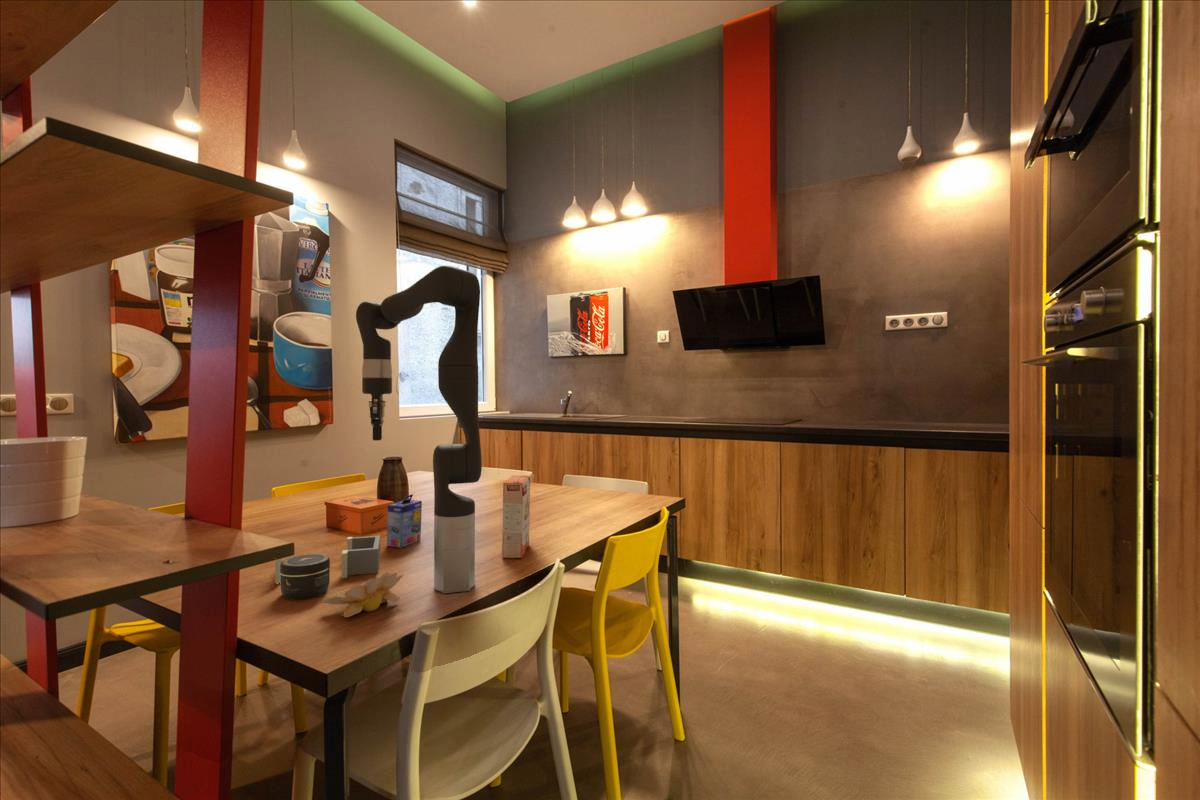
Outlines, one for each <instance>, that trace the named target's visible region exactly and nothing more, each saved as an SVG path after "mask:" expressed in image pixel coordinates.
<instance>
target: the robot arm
mask: <svg viewBox="0 0 1200 800" xmlns="http://www.w3.org/2000/svg"><path fill="white" fill-rule="evenodd" d="M480 301H481V286H480V281H479V278H478V276H477V275H476V274H474V273H473V272H472V271H469V270H466V269H463V268H459V267H457V266H456V267H455V266H451V265H447V264H446V265H445V264H444V265H439V266H438V267H435V268H434V269H432V270H431V271H430V272H428V273H427V274H425V275H424V276H423V277H422V278H420V279H418V281H416V282H415V283H413V284H412V285H410V286H409V287H408V288H406V289H402V290H401V291H399V292H397V293H394V294H391V295H390V296H387V297H385V298H384V299H383V300H382V302H373V301H367V300H366V301H362V302H361V303H360V304H358V306H357V308H356V311H355V320H356V324H357V327H358V330H359V333H360V337H361V341H362V350H363V351H362V357H363V359H362V368H361V370H362V371H361V375H362V376H361V378H362V381H361V383H362V384H361V386H362V387H361V388H362V389H361V390H362V391H361V392H362V394H365V395H371V399H370V400H369V401H368V407H369V418H370V424H371V427H372V440H373V441H381V440H382V438H383V425H384V422H385V421H384V417H385V408H386V400H384V398H383V397H384V396H383V395H391V394H392V393H393V369H392V346H391V345H392V344H391V341H390V340H389V339H388V338H385V337H383V336H380V335H379V333H378V331H377V330H385V331H386V330H387V331H388V330H391V329H395V328H396V327H397V326H398V325H399V324H401V322H404V321H406V320H409V319H411V318H414V317H416V316H418V315H419V314H420V313H421V312H422V310H423V309H424V306H425V305H426V304H434V303H439V304H441V305H444V306H449V307H453V308H454V312H455V314H454V315H455V316H454V317H455V318H454V328H453V330H452V333H451V336H450V337H449V339H448V341H447V343H446V344H445V345H444V347H443V349H442V351H441V354H439V355H440V356H439V358H438V362H437V363H438V364H437V368H438V370H437V374H438V375H437V378H438V379H437V380H438V381H437V382H438V389H439V393H440V394H441V396H442V398H443V399H444V401H445V402H446V404H447V405H448V406H449V408H450V409H451V412H452V413H454V415H455V417H456V419H457V420H458V422H459V424H460V426H461V428H462V431H463V434H464V439H465V443H450V444H449V443H446V444H445V443H444V444H438V445H436V447H435V448H434V450H433V454H432V470H433V484H434V485H433V488H434V491H433V493H434V494H433V495H434V497H433V499H434V500H433V503H434V504H433V505H434V507H433V508H434V509H433V513H434V514H433V520H434V521H433V522H434V523H433V544H434V545H433V570H434V571H433V577H434V578H433V587H434V590H435V591H438V592H441V594H451V593H460V592H461V593H462V592H469V591H471V589H472V588H473V587H475V585H476V582H475V581H476V562H475V561H476V553H475V552H476V549H475V548H476V527H475V526H476V503H475V501H474V499H473V498H470V497H468V496H464V495H461V494H457V493H456V492H454V491H452V490H451V489H450V488H449V487H450V486H449V485H457V484H459V485H461V484H473V483H478V482H479V480H480V479H481V475H482V468H483V467H482V465H483V463H482V449H481V435H480V433H481V432H480V424H479V359H478V357H479V356H478V328H479V327H478V326H479V317H480V316H479V314H480V313H479V312H480Z"/></svg>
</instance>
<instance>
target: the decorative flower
mask: <svg viewBox="0 0 1200 800" xmlns="http://www.w3.org/2000/svg"><path fill="white" fill-rule="evenodd" d="M397 574H398V573H397V572H395V573H392V574H390V573H389V572H385V573H383V574H382V575H380V576H379V577H378V578H376V579H375V578H369V579H367V580H366V581H364V582H363V583H362V584H361V585H354V586H352V587H350V588H349V589H348V590H341V591H338V592H336V595H335V594H334V595H332V597H330V598H325V599H324V600H323V601H322V603H323V604H329V605H347V606H346V607H345V608H344V609H343V610H342V611H341V613H340V614H339V615H340V616H341V617H343V618H349V617H351V616H352V617H353V616H354V615H356V614H359V613H361V611H362V610H363V611H365V612H367V613H369V612H370V613H371V612H374V611H376V610H377V609H378V608H379V607H380V605H381V603H386V602H388V601H389V602H392V603H397V602H399V600H400V599H401V598H400V596H399V595H397V594H396V593H393V592H392V590H391V589H393V588H394V586H395V585H397V584H398V582H399V581H400V580H401V579H402V578H403V577H404V574H401V575H397Z"/></svg>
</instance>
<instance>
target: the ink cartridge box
mask: <svg viewBox="0 0 1200 800" xmlns="http://www.w3.org/2000/svg"><path fill="white" fill-rule="evenodd" d="M413 496H414V494H413V493H412V494H409V495H406V496H405V497H403V500H400V501H398V502H397V501H396V502H394V503H391V504H388V505H387V522H386V523H387V533H386V534H387V535H386V546H387V547H392V548H393V547H394V548H398V549H402V548H404V547H407V546H409V545H411V544H414V543H417V542H420V541H421V538H422V537H421V535H422V511H423V510H422V506H423V505H422V502H423V501H422V500H419V499H418V500H417V499H413Z"/></svg>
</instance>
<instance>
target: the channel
mask: <svg viewBox="0 0 1200 800" xmlns="http://www.w3.org/2000/svg"><path fill="white" fill-rule="evenodd" d="M293 556H295V554H294V555H293ZM293 556H291V557H293ZM287 558H290V557H287ZM287 558H284V559H280V560H277V561H275V560H274V583H276V584H277V583H281V574H280V565H281V562H282V561H283V560H285V559H287ZM380 563H381V535H369V536H368V535H367V536H356V537H353V536H347V538H346V549H345V550H344V549H343V550H342V551H341V579H347V578H348V577H349V576H356V574H358V575H367V573H369V574H377V573H376V572H378V573H379V571H378V570H380ZM277 585H278V584H277Z"/></svg>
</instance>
